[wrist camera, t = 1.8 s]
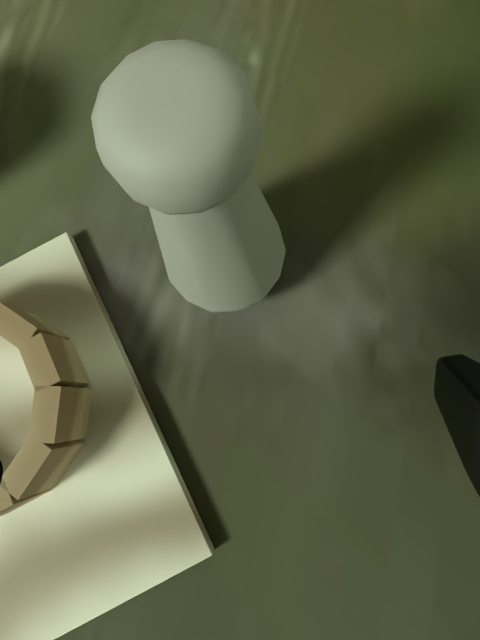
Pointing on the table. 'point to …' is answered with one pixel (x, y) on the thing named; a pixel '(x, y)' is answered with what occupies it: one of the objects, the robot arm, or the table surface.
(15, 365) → the socket
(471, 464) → the robot arm
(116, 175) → the salt shaker
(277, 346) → the table surface
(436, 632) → the table surface
